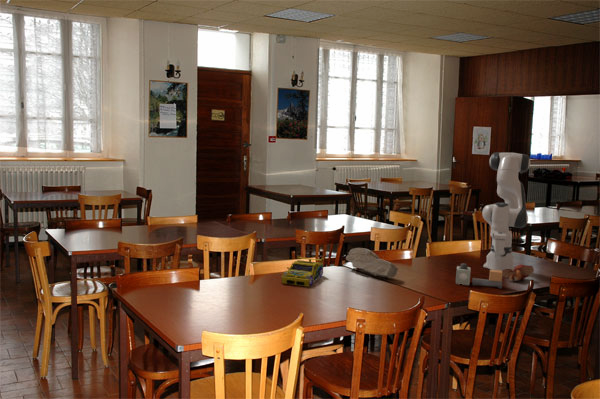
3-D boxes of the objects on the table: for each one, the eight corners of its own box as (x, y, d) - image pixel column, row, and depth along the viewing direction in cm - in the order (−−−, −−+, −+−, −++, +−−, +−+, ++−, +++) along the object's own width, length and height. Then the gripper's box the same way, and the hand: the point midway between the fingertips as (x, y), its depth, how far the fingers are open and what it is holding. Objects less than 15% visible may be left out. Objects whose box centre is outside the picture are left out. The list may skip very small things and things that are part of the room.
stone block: (393, 287, 313) (403, 261, 317) (383, 279, 307) (393, 253, 311) (347, 275, 339) (357, 252, 343) (337, 267, 333) (347, 244, 337)
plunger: (460, 272, 316) (460, 263, 316) (466, 272, 316) (467, 263, 315) (460, 273, 313) (460, 264, 313) (466, 274, 312) (467, 265, 312)
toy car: (280, 284, 297) (281, 264, 296) (297, 272, 323) (297, 254, 322) (309, 287, 293) (310, 268, 292) (324, 275, 318) (325, 257, 317)
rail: (472, 282, 316) (472, 277, 316) (501, 285, 312) (501, 280, 312) (472, 285, 311) (472, 279, 311) (502, 288, 307) (502, 282, 307)
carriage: (488, 282, 314) (489, 269, 313) (500, 283, 312) (501, 270, 311) (489, 284, 309) (490, 271, 308) (501, 285, 307) (502, 272, 307)
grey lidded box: (455, 280, 320) (457, 266, 319) (469, 281, 318) (470, 267, 317) (455, 284, 312) (456, 269, 311) (469, 285, 310) (470, 270, 309)
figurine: (532, 283, 314) (543, 273, 324) (526, 268, 314) (537, 258, 324) (500, 288, 328) (511, 278, 338) (494, 274, 328) (505, 264, 338)
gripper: (492, 230, 318) (490, 255, 319) (494, 235, 298) (492, 262, 300) (504, 231, 316) (502, 256, 318) (507, 236, 297) (505, 263, 298)
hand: (497, 259), depth 309 cm, fingers open, 8 cm apart
